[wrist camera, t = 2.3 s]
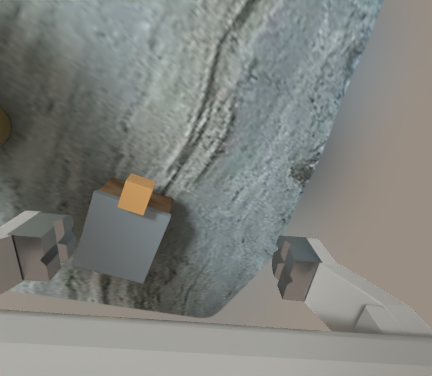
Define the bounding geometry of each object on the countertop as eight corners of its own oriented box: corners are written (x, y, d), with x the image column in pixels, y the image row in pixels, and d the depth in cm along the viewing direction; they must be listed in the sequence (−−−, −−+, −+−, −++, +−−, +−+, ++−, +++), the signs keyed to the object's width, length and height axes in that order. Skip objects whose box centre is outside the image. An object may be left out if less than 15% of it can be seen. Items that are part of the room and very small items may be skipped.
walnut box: (92, 239, 36) (77, 261, 31) (111, 177, 32) (97, 191, 28) (149, 255, 38) (143, 278, 33) (172, 198, 34) (169, 215, 30)
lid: (78, 258, 32) (66, 274, 29) (106, 161, 27) (95, 169, 24) (145, 275, 34) (140, 292, 31) (181, 188, 29) (180, 199, 26)
